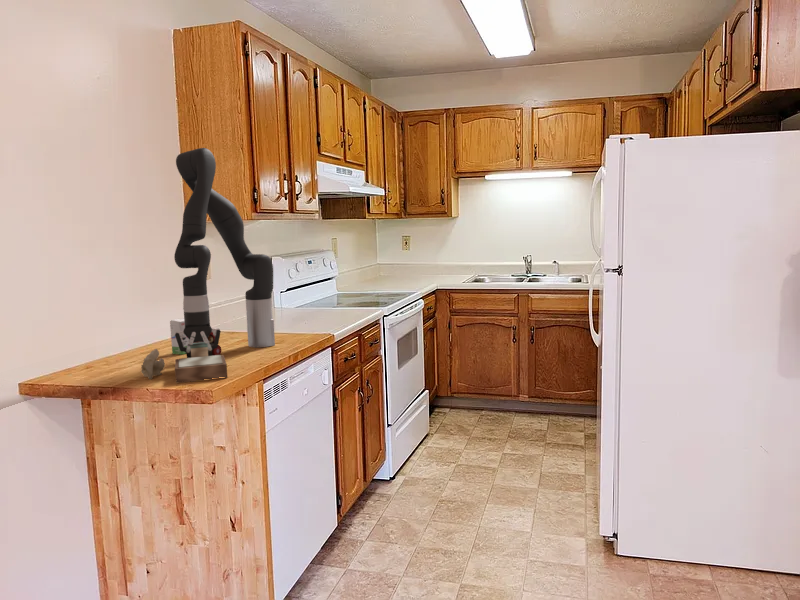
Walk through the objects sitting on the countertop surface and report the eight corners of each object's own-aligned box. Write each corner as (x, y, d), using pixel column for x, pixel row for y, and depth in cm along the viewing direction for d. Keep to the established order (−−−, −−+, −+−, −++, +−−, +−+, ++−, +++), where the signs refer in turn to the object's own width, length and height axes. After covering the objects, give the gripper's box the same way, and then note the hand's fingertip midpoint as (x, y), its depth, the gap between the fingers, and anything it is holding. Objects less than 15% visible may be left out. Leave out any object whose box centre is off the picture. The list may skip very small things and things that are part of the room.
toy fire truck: (225, 354, 212) (223, 324, 211) (201, 362, 201) (199, 330, 200) (209, 353, 215) (207, 323, 214) (184, 361, 204) (182, 329, 202)
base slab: (224, 367, 192) (223, 354, 191) (227, 377, 179) (226, 363, 178) (176, 372, 187) (175, 358, 187) (175, 383, 174) (174, 368, 173)
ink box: (181, 355, 213) (179, 321, 212) (171, 353, 216) (169, 320, 214) (200, 350, 221) (198, 317, 219) (190, 349, 223) (188, 316, 222)
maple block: (208, 363, 198) (206, 341, 197) (209, 366, 193) (207, 344, 193) (191, 365, 197) (190, 343, 196) (191, 368, 192) (190, 346, 191)
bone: (148, 366, 189) (159, 340, 186) (165, 378, 188) (176, 351, 185) (129, 375, 181) (140, 347, 178) (146, 387, 180) (157, 359, 177)
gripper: (219, 306, 199) (222, 358, 201) (172, 309, 194) (175, 362, 196) (221, 309, 192) (224, 363, 194) (171, 312, 187) (175, 367, 189)
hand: (199, 362), depth 195 cm, fingers closed on maple block, 5 cm apart
